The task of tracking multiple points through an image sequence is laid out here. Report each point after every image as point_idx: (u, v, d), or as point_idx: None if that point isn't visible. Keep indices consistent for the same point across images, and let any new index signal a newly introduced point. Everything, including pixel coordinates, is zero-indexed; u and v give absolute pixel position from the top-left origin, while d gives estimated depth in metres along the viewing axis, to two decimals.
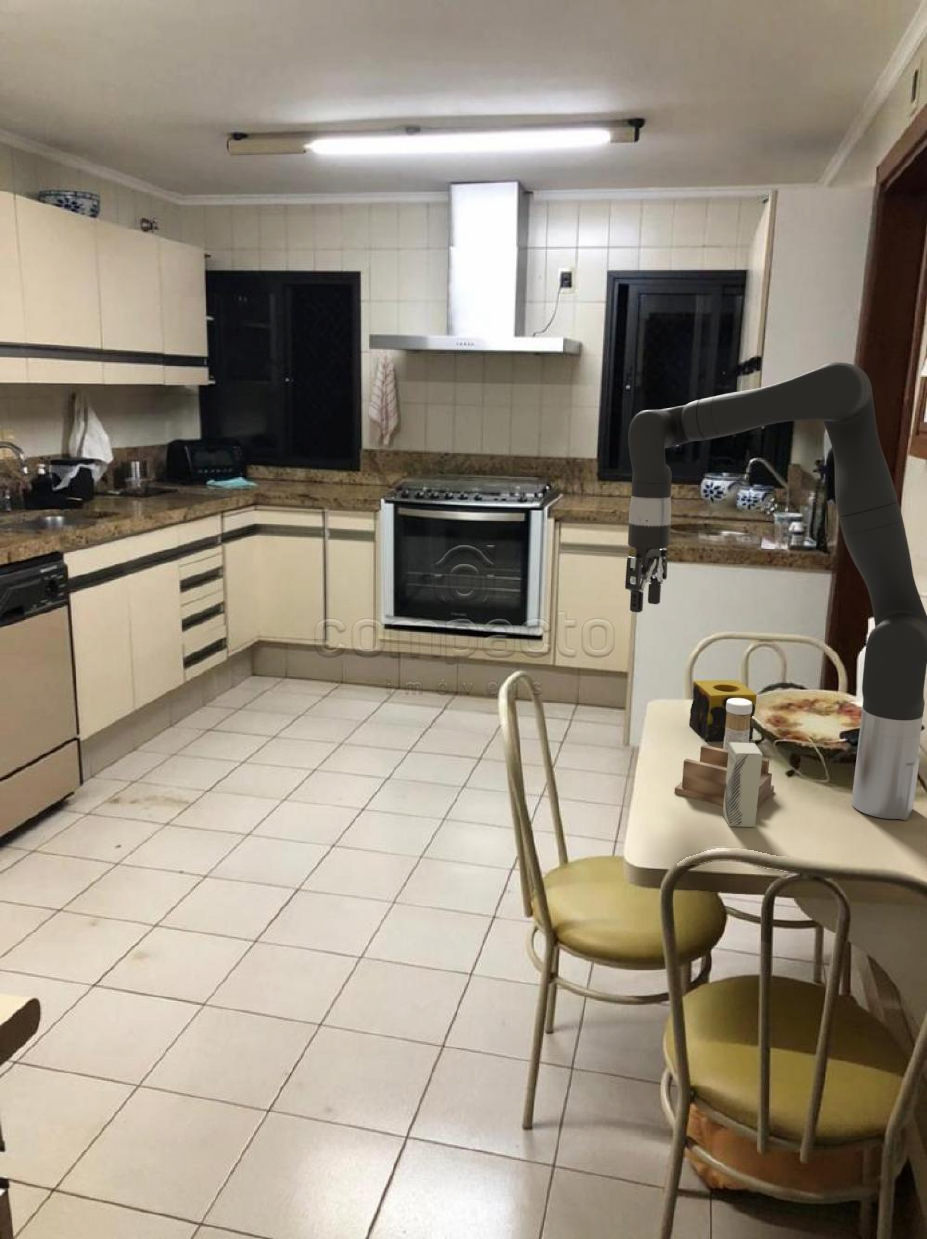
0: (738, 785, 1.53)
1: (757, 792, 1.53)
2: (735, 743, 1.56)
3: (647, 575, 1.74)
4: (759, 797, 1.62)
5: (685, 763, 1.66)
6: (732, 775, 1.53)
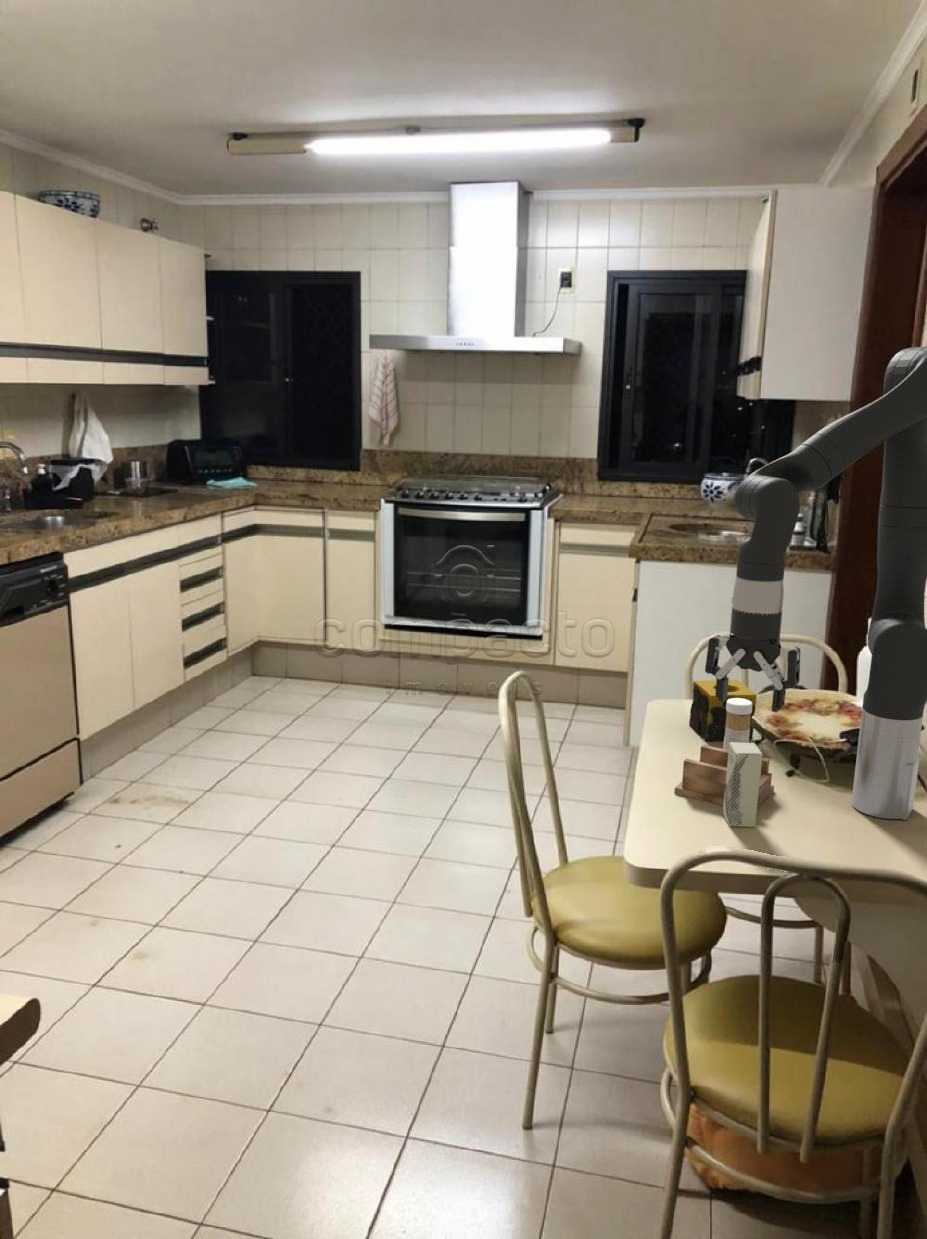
0: (738, 785, 1.53)
1: (757, 792, 1.53)
2: (735, 743, 1.56)
3: (778, 666, 1.50)
4: (759, 797, 1.62)
5: (685, 763, 1.66)
6: (732, 775, 1.53)
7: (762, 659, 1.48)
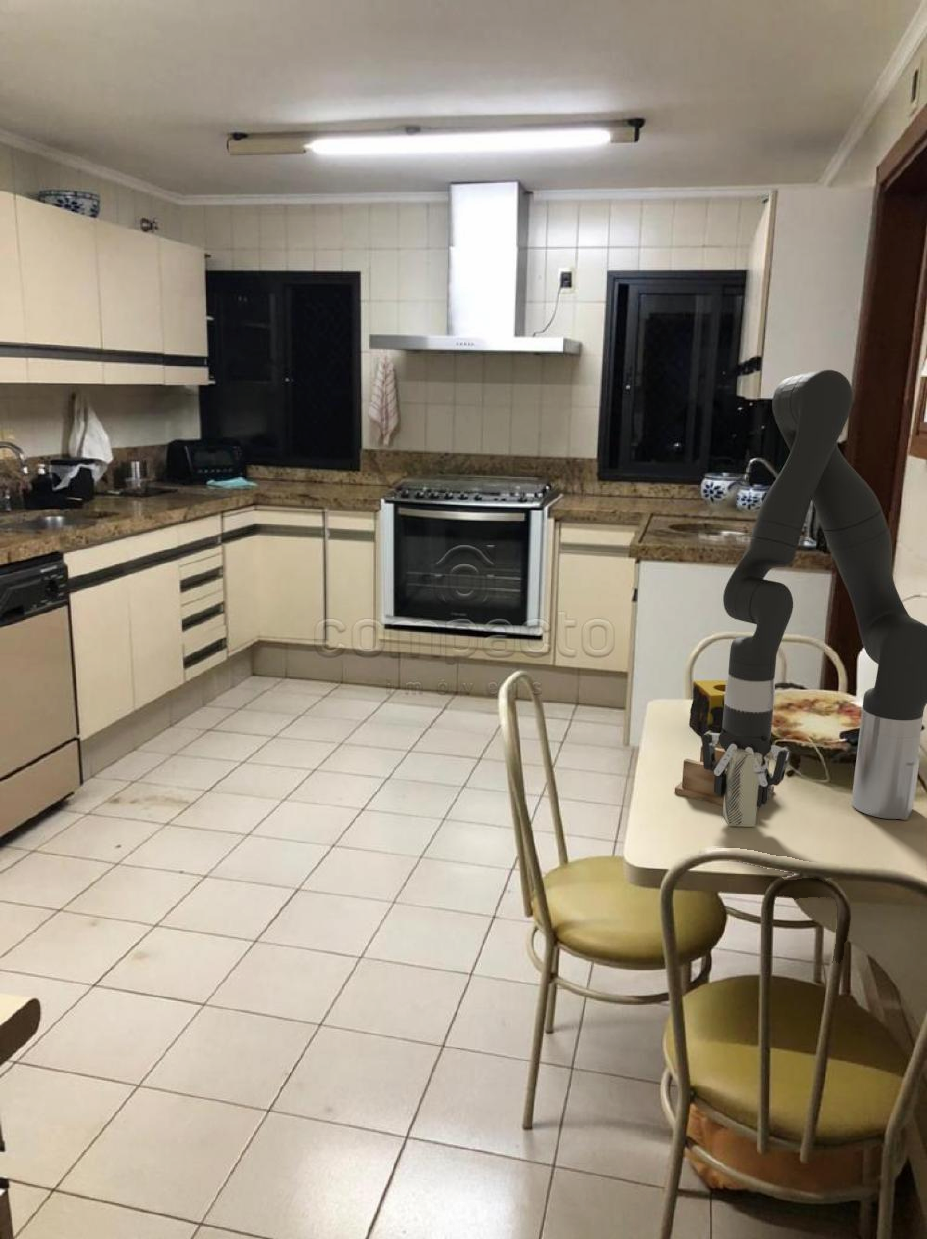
0: (738, 785, 1.53)
1: (757, 792, 1.53)
2: None
3: (766, 761, 1.54)
4: None
5: (685, 763, 1.66)
6: (732, 775, 1.53)
7: (753, 755, 1.52)
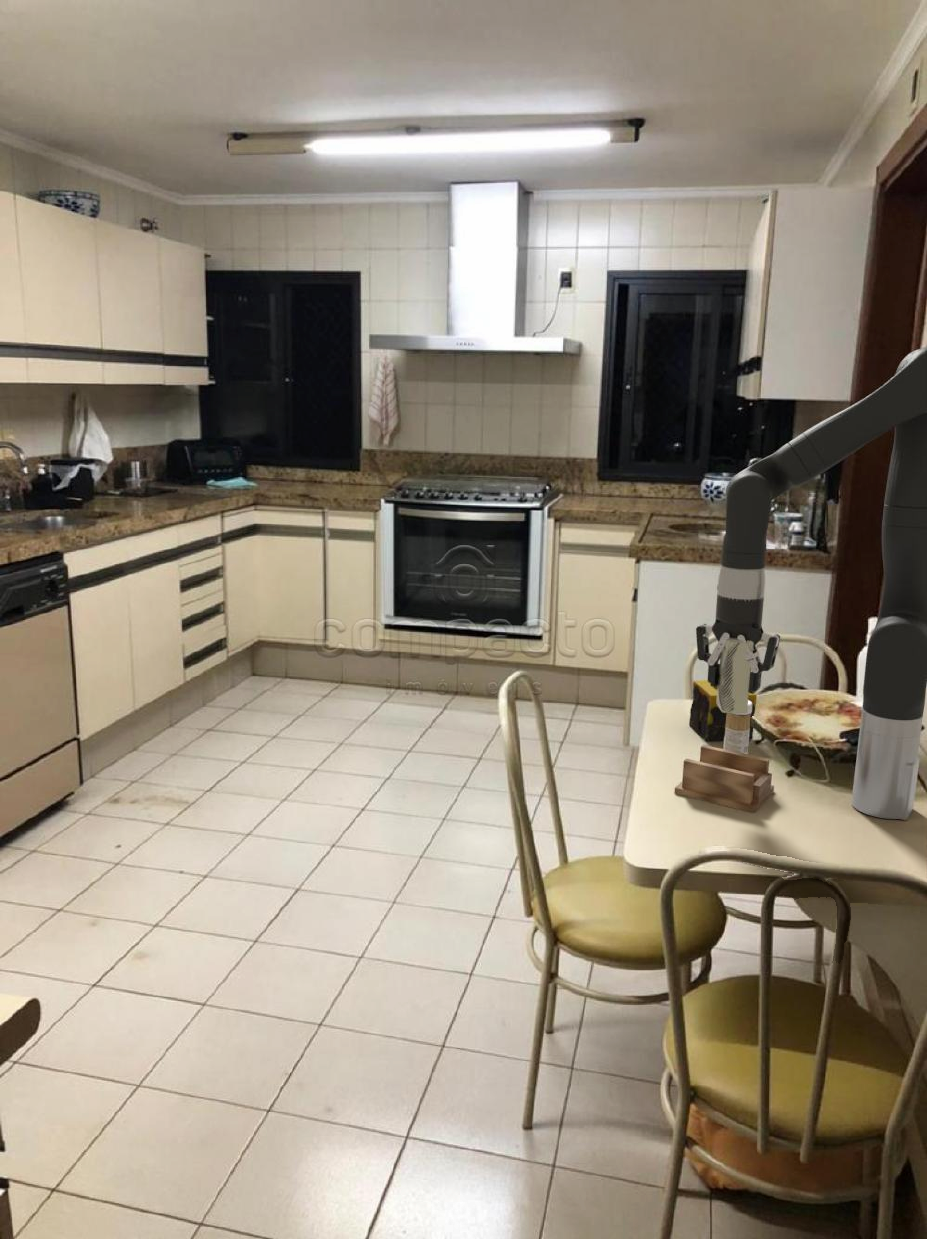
0: (730, 672, 1.61)
1: (749, 679, 1.61)
2: None
3: (757, 650, 1.62)
4: (759, 797, 1.62)
5: (685, 763, 1.66)
6: (725, 663, 1.61)
7: None
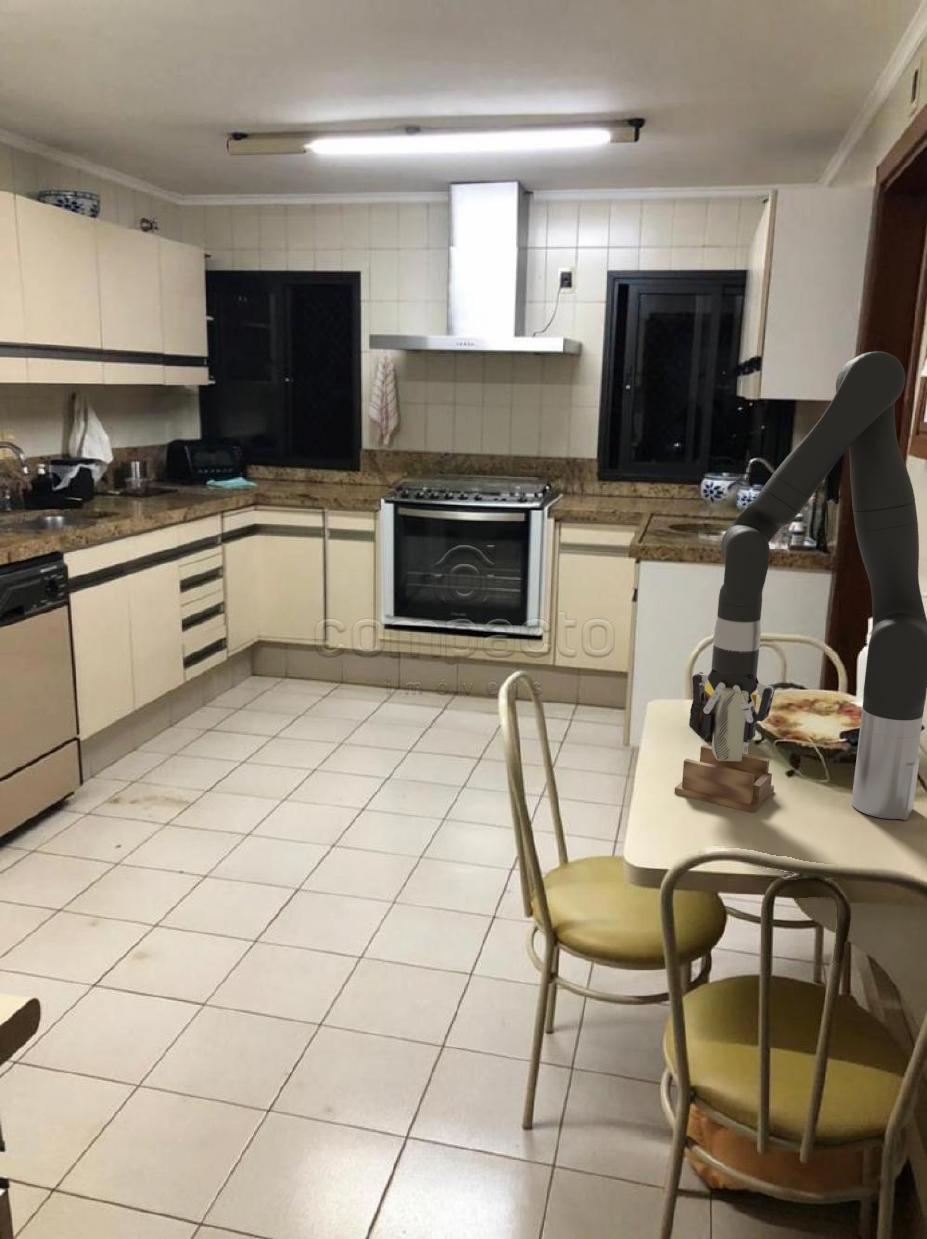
0: (725, 721, 1.63)
1: (743, 728, 1.63)
2: None
3: (752, 700, 1.64)
4: (759, 797, 1.62)
5: (685, 763, 1.66)
6: (721, 712, 1.63)
7: None
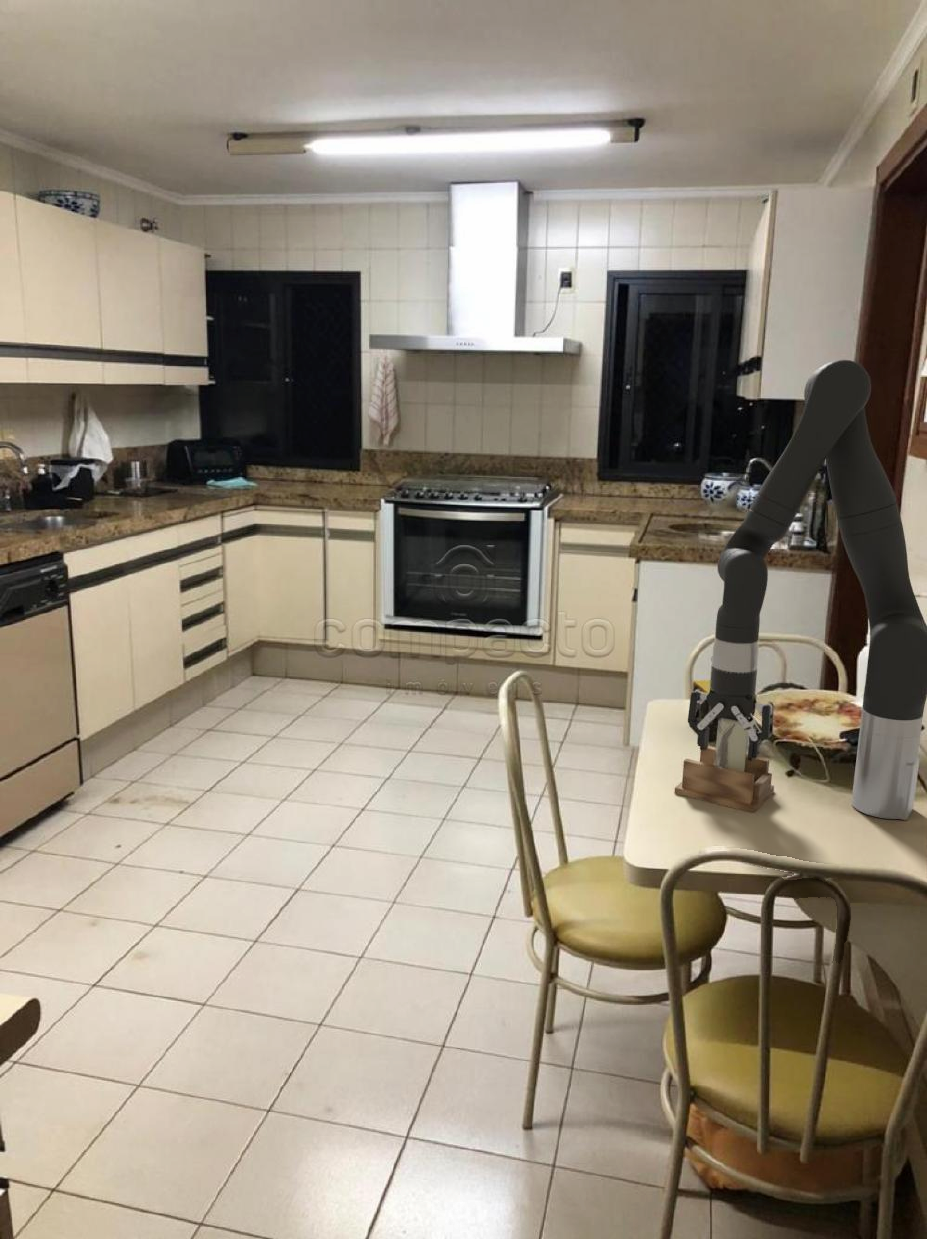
0: (726, 752, 1.64)
1: (744, 759, 1.64)
2: None
3: (753, 718, 1.64)
4: (759, 797, 1.62)
5: (685, 763, 1.66)
6: (721, 743, 1.64)
7: (739, 713, 1.62)
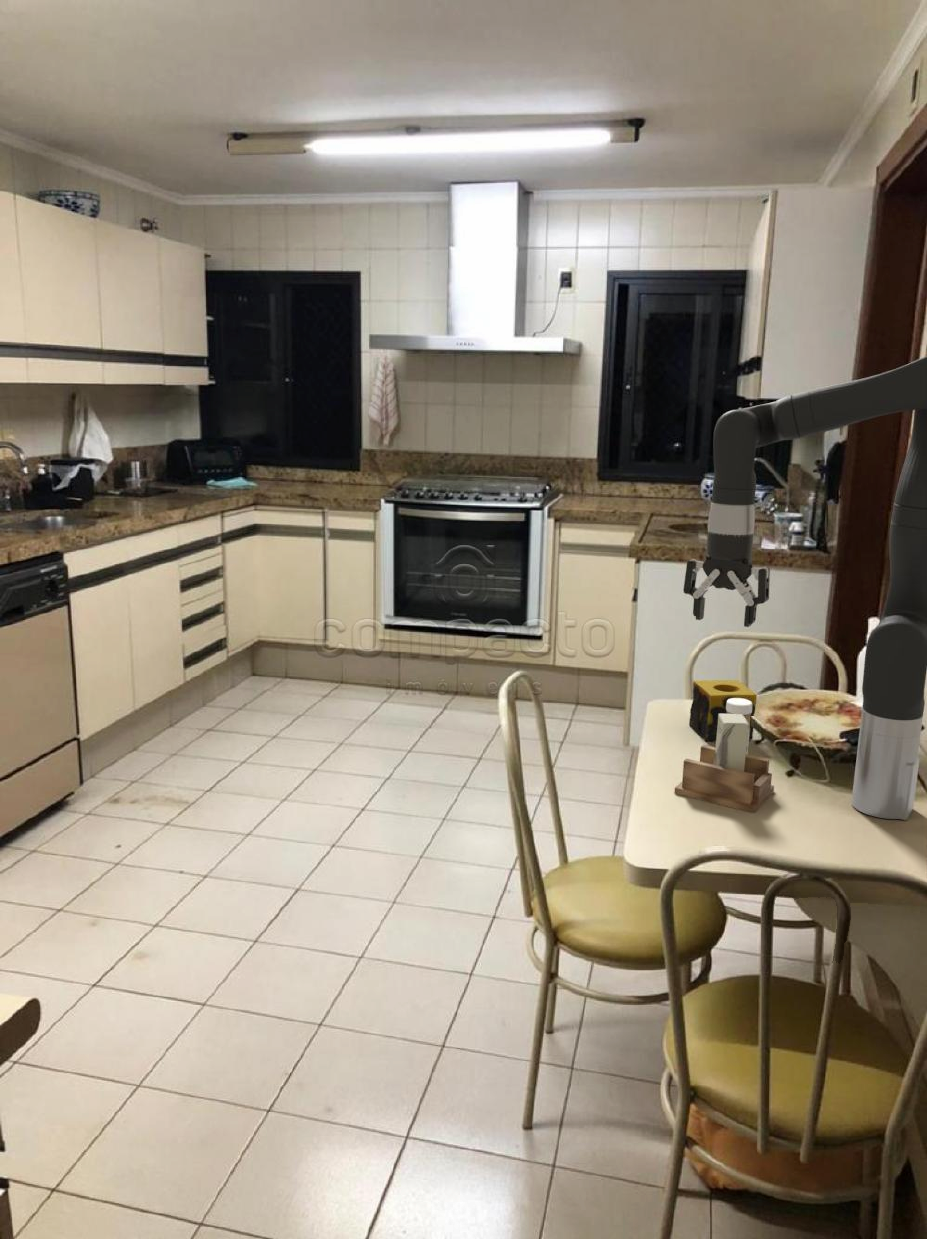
0: (725, 752, 1.64)
1: (744, 759, 1.64)
2: (724, 714, 1.66)
3: (749, 585, 1.64)
4: (759, 797, 1.62)
5: (685, 763, 1.66)
6: (721, 743, 1.64)
7: (735, 577, 1.62)
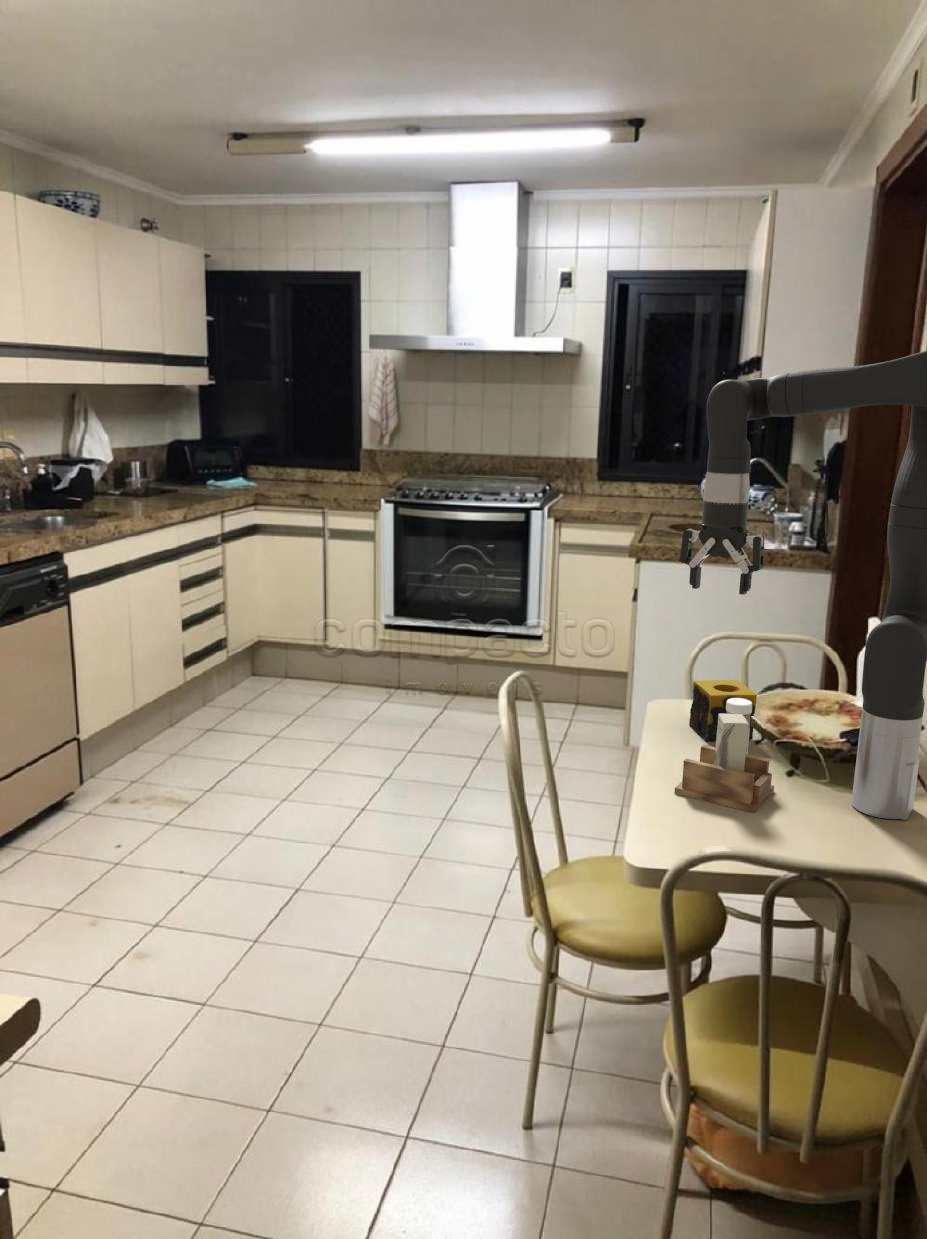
0: (725, 752, 1.64)
1: (744, 759, 1.64)
2: (724, 714, 1.66)
3: (745, 553, 1.67)
4: (759, 797, 1.62)
5: (685, 763, 1.66)
6: (721, 743, 1.64)
7: (730, 545, 1.65)
